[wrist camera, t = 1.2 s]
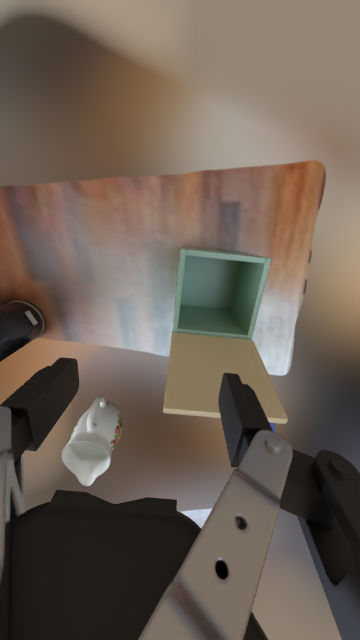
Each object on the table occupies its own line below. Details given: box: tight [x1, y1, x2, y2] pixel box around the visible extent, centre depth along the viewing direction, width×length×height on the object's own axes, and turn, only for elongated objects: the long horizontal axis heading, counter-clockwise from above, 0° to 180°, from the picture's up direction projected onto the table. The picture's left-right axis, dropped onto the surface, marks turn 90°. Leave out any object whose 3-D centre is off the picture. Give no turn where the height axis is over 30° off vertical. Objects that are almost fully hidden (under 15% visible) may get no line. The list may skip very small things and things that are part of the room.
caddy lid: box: [163, 332, 288, 424], centre depth 27 cm, size 13×13×1 cm
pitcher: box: [62, 396, 122, 486], centre depth 50 cm, size 11×18×14 cm, turn 173°
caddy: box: [172, 246, 271, 340], centre depth 37 cm, size 13×13×14 cm
